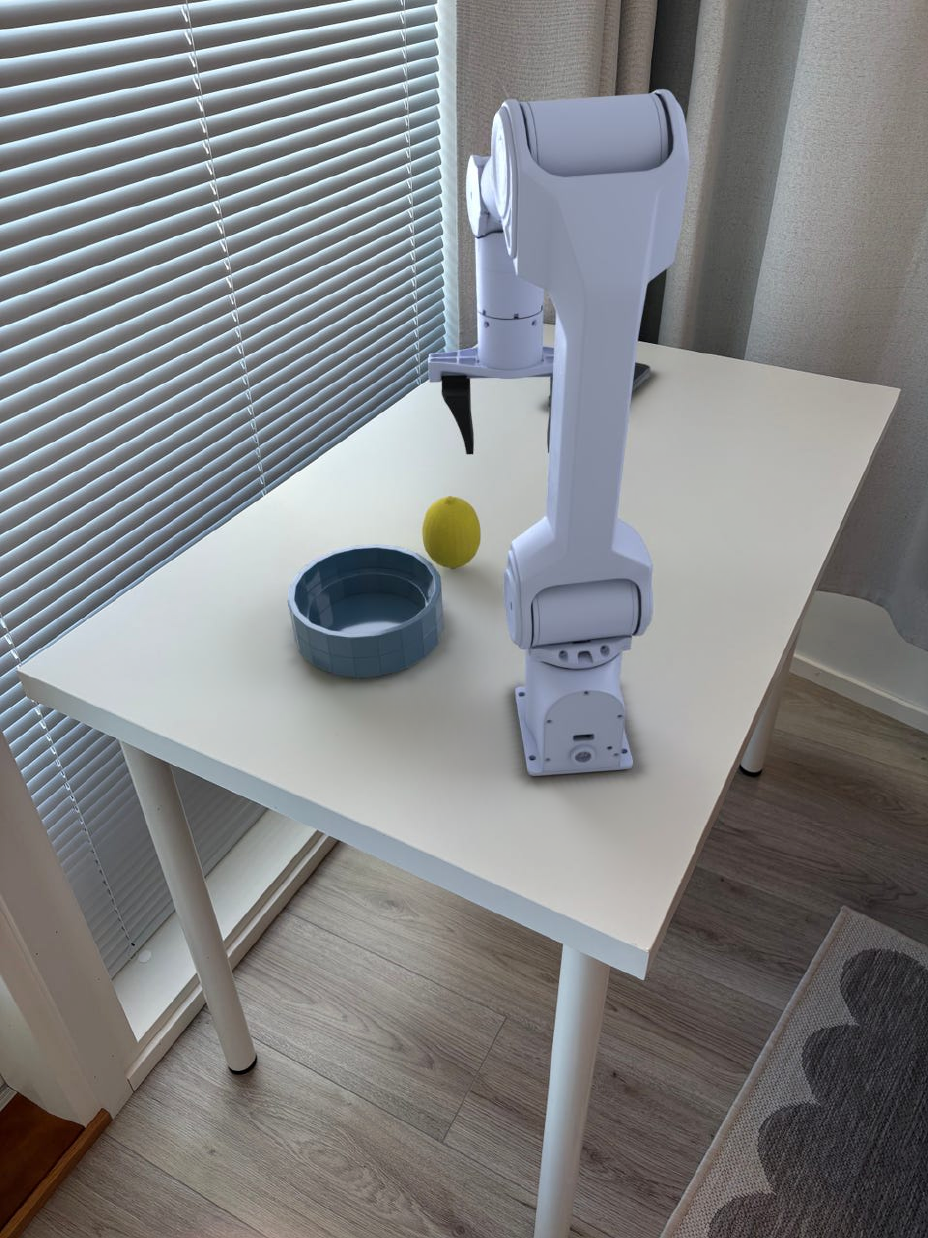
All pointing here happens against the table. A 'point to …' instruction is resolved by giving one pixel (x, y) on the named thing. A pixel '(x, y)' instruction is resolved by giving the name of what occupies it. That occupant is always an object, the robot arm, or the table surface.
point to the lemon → (451, 532)
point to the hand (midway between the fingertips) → (510, 448)
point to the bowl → (366, 610)
